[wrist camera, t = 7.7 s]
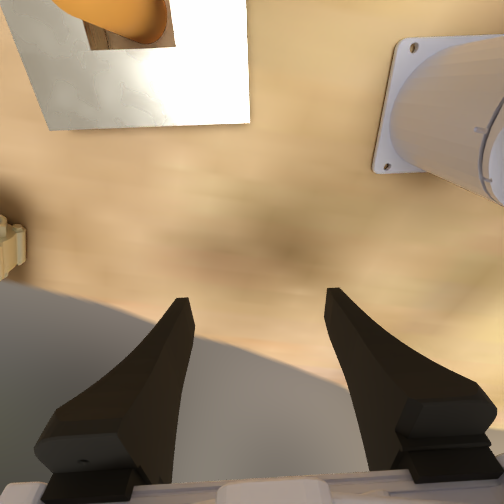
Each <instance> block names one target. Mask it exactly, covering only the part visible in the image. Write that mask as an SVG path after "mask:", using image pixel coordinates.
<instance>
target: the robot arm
mask: <svg viewBox="0 0 504 504" xmlns="http://www.w3.org/2000/svg"><path fill="white" fill-rule="evenodd" d="M412 44H414V45H415V50H414V52H413V53H411V52H410V46H411V45H412ZM386 164H388V165H389V166H388V168H386V169H384V166H385V165H386ZM372 170H373V172H375V173H376V174H391V173H416V172H429V173H431V174H433V175H436V176H438V177H440V178H442V179H444V180H447V181H449V182H451V183H453V184H455V185H457V186H460V187H462V188H464V189H466V190H468V191H470V192H473V193H475V194H477V195H479V196H481V197H484V198H486V199H488V200H490V201H492V202H494V203H497V204H499V205H501V206H504V34H494V35H467V36H440V37H414V38H405V39H402V40H400V41H399V42H398V43H397V45H396V47H395V50H394V56H393V61H392V66H391V71H390V76H389V81H388V86H387V91H386V97H385V102H384V107H383V112H382V117H381V122H380V127H379V132H378V137H377V143H376V148H375V153H374V158H373V163H372ZM324 319H325V323H326V327H327V331H328V335H329V337H330V340H331V343H332V345H333V348H334V350H335V353H336V355H337V358H338V360H339V363H340V366H341V368H342V371H343V373H344V376H345V379H346V382H347V385H348V388H349V392H350V395H351V398H352V402H353V406H354V409H355V413H356V417H357V421H358V424H359V429H360V433H361V436H362V440H363V445H364V449H365V453H366V457H367V462H368V466H369V471H370V472H355V473H354V472H353V473H337V474H321V475H305V476H289V477H272V478H255V479H239V480H223V481H206V482H192V483H191V482H190V483H173V484H171V482H172V471H173V460H174V450H175V440H176V432H177V424H178V423H177V422H178V415H179V407H180V401H181V393H182V388H183V384H184V379H185V375H186V371H187V367H188V363H189V358H190V355H191V350H192V346H193V339H194V331H195V323H194V319H193V315H192V311H191V307H190V303H189V298H188V297H187V298H176V299H175V301H174V302H173V303H172V305H171V306H170V307H169V309H168V310H167V311H166V313H165V314H164V315H163V317H162V318H161V319H160V320H159V322H158V323H157V324H156V325H155V327H154V328H153V329H152V330H151V332H150V333H149V334H148V335H147V336H146V337H145V338H144V339H143V341H142V342H141V343H140V344H139V345H138V346H137V347H136V348H135V349H134V350H133V351H132V352H131V353H130V354H129V355H128V356H127V357H126V358H125V359H124V360H123V361H122V362H120V363H119V364H118V365H117V366H116V367H115V368H113V369H112V370H111V371H110V372H109V373H107V374H106V375H105V376H104V377H102V378H101V379H100V380H99V381H97V382H96V383H95V384H93V385H92V386H91V387H89V388H88V389H86V390H85V391H84V392H82V393H81V394H79V395H78V396H77V397H75V398H73V399H72V400H70V401H69V402H67V403H66V404H64V405H62V406H61V407H60V408H58V409H56V411H55V412H54V414H53V416H52V417H51V418H50V420H49V422H48V424H47V425H46V427H45V429H44V431H43V433H42V434H41V436H40V438H39V440H38V441H37V443H36V445H35V447H34V452H35V455H36V457H37V458H38V459H39V460H40V461H41V462H42V463H43V464H44V465H45V466H46V467H47V468H48V469H49V470H50V471H51V472H52V473H53V475H52V477H51V479H50V481H49V483H48V484H47V483H44V482H23V483H10V484H8V485H7V486H6V488H5V489H4V491H3V493H2V494H1V496H0V504H504V453H502V454H499V455H497V456H494V454H493V453H492V451H491V450H490V448H489V446H491V442H490V440H489V439H488V437H487V436H486V434H485V431H486V430H487V429H488V428H489V426H490V425H491V424H492V422H493V421H494V420H495V418H496V416H497V408H496V406H495V405H494V404H493V402H492V401H491V400H490V399H489V397H488V396H487V395H486V393H485V392H484V391H483V390H482V389H481V387H480V386H479V385H478V384H477V383H476V382H474V381H472V380H470V379H468V378H466V377H463V376H461V375H459V374H457V373H455V372H453V371H451V370H449V369H447V368H445V367H443V366H441V365H439V364H437V363H435V362H434V361H432V360H430V359H428V358H426V357H425V356H423V355H421V354H420V353H418V352H416V351H415V350H413V349H412V348H410V347H408V346H407V345H405V344H404V343H402V342H401V341H399V340H398V339H397V338H395V337H394V336H392V335H391V334H390V333H388V332H387V331H386V330H384V329H383V328H382V327H381V326H380V325H378V324H377V323H376V322H375V321H374V320H372V319H371V318H370V317H369V316H368V315H367V314H366V313H365V312H364V311H362V310H361V309H360V308H359V307H358V306H357V305H356V304H355V303H354V302H353V301H352V300H351V299H350V298H349V297H348V296H347V295H346V294H345V293H344V292H343V291H342V290H341V289H340V288H327V294H326V304H325V313H324Z"/></svg>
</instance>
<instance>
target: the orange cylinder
mask: <svg viewBox="0 0 504 504" xmlns="http://www.w3.org/2000/svg"><path fill="white" fill-rule="evenodd" d="M52 1H53V2H54V3H55V4H56V5H57V6H58V7H59V8H60V9H62V10H63V11H65V12H66V13H68V14H70V15H71V16H74V17H76V18H79V19H81V20H84V21H86V22H89V23H91V24H94V25H96V26H99V27H101V28H104V29H106V30H109V31H111V32H113V33H116V34H118V35H121V36H123V37H126V38H128V39H131V40H133V41H136V42H138V43H143V44H149V43H152V42H155V41H156V40H158V39H159V38H160V37H161V35H162V34H163V32H164V30H165V27H166V22H167V10H166V5H165V2H164V0H52Z"/></svg>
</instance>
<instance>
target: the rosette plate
mask: <svg viewBox="0 0 504 504" xmlns="http://www.w3.org/2000/svg"><path fill="white" fill-rule="evenodd" d="M169 1H170V8H171V15H172V22H173V29H174V36H175V43H176V47H172V48H145V49H118V50H109V47H108V43H107V39H106V35H105V31H104V28H101V27H99V26H96V25H94V24H91V23H89V22H86V21H84V20H81V19H79V18H76V17H74V16H71V15H70V14H68V13H66V12H65V11H63V10H62V9H60V8H59V7H58V6H57V5H56V4H55V3H54V2H53V1H52V0H0V6H1V8H2V11H3V13H4V16H5V18H6V21H7V23H8V26H9V29H10V31H11V34H12V36H13V39H14V41H15V44H16V46H17V49H18V52H19V54H20V57H21V59H22V62H23V64H24V67H25V69H26V72H27V75H28V77H29V80H30V82H31V85H32V87H33V90H34V92H35V95H36V98H37V100H38V103H39V105H40V108H41V110H42V113H43V115H44V118H45V121H46V123H47V126H48V128H49V131H55V130H80V129H105V128H130V127H156V126H181V125H206V124H231V123H250V115H249V85H248V56H247V26H246V0H169Z"/></svg>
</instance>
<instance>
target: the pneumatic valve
mask: <svg viewBox="0 0 504 504" xmlns="http://www.w3.org/2000/svg"><path fill="white" fill-rule="evenodd" d="M25 261H26V229H25V228H24V227H22V225H20V224H14V225H13V226H11V225H9V224H7V218H6V217H4V216H3V215H1V214H0V282H1V280H2V279H4V278H6V277H7V276H8V274H9V271H10V270H12V269H13V268H14V267H15V266H16V265H22V264H23V262H25Z"/></svg>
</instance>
